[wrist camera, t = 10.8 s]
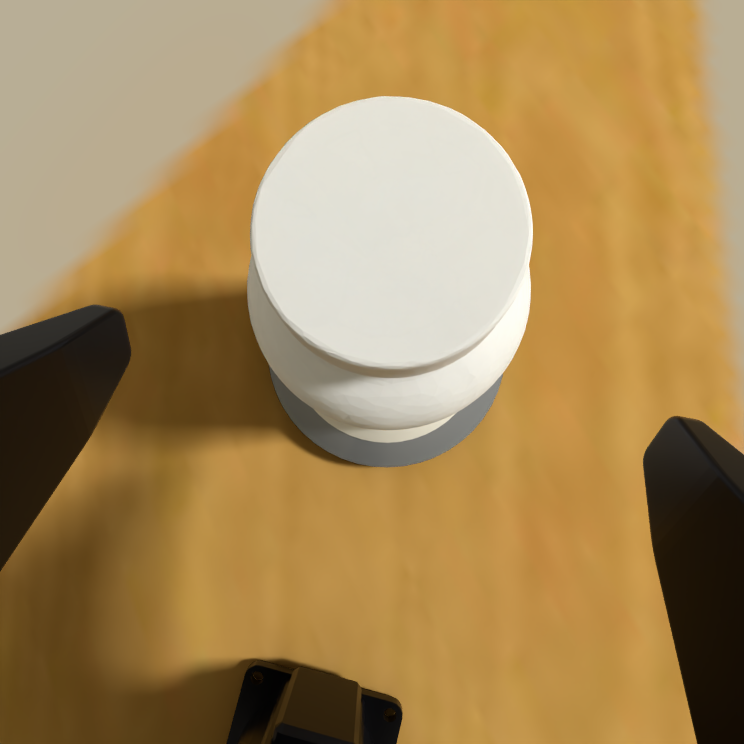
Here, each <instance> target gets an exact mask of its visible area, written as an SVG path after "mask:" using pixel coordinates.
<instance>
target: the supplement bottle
mask: <svg viewBox="0 0 744 744" xmlns="http://www.w3.org/2000/svg"><path fill="white" fill-rule="evenodd" d="M532 238H533V223H532V214H531V209H530V203H529V199H528V196H527V192H526V189H525V186H524V184H523V181H522V179H521V176H520V174H519V172H518V171H517V169H516V168H515V166H514V164H513V163H512V161H511V159H510V157H509V156H508V154H507V153H506V152H505V150H504V149H503V148H502V146H501V145H500V144H499V143H498V142H497V141H496V140H495V139H494V138H493V137H492V136H491V135H490V134H488V133H487V132H486V131H485V130H484V129H483V128H481V127H480V126H479V125H477V124H476V123H475V122H473V121H472V120H470V119H469V118H467V117H466V116H464V115H462V114H460V113H458V112H456V111H455V110H453V109H451V108H448V107H445V106H443V105H439V104H436V103H433V102H430V101H426V100H421V99H415V98H409V97H388V96H381V97H374V98H368V99H363V100H358V101H354V102H351V103H348V104H345V105H342V106H339V107H337V108H335V109H333V110H330V111H328V112H326V113H324V114H322V115H320V116H319V117H317V118H316V119H314V120H312V121H311V122H309V123H308V124H307V125H306V126H304V127H303V128H302V129H301V130H299V131H298V132H297V133H296V134H295V135H294V136H293V137H292V138H291V139H290V140H289V141H288V142H287V143H286V144H285V145H284V146H283V148H282V149H281V150H280V152H279V153H278V154H277V156H276V157H275V158H274V160H273V161H272V162H271V164H270V165H269V167H268V169H267V171H266V173H265V175H264V177H263V179H262V181H261V183H260V186H259V188H258V191H257V194H256V197H255V201H254V204H253V209H252V217H251V229H250V244H251V254H252V256H251V260H250V265H249V272H248V280H247V297H248V309H249V314H250V320H251V324H252V327H253V330H254V334H255V336H256V339H257V342H258V344H259V347H260V349H261V351H262V353H263V355H264V357H265V358H266V360H267V362H268V363H269V365H270V367H271V369H272V370H273V371H274V372H275V374H276V375H277V376H278V378H279V379H280V380H281V381H282V382H283V383H284V385H285V386H286V387H287V388H288V389H289V390H290V391H291V392H292V393H293V394H294V395H296V396H297V397H298V398H299V399H300V400H302V401H303V402H304V403H306V404H307V405H309V406H310V407H312V408H313V409H315V410H317V411H318V412H320V413H322V414H324V415H326V416H328V417H330V418H332V419H335V420H337V421H339V422H343V423H346V424H349V425H352V426H356V427H360V428H367V429H375V430H402V429H410V428H416V427H421V426H424V425H428V424H431V423H434V422H437V421H440V420H442V419H445V418H447V417H449V416H451V415H453V414H455V413H457V412H459V411H460V410H462V409H464V408H465V407H467V406H468V405H470V404H471V403H472V402H474V401H475V400H476V399H478V398H479V397H480V396H481V395H482V394H484V393H485V392H486V391H487V390H488V389H489V388H490V387H491V386H492V385H493V384H494V383H495V382H496V381H497V379H498V378H499V377H500V376H501V375H502V373H503V372H504V371H505V369H506V368H507V367H508V365H509V363H510V362H511V360H512V359H513V357H514V355H515V353H516V350H517V348H518V346H519V344H520V342H521V339H522V337H523V334H524V331H525V327H526V323H527V319H528V314H529V308H530V295H531V281H530V270H529V261H530V256H531V250H532Z"/></svg>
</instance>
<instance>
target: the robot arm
mask: <svg viewBox="0 0 744 744" xmlns="http://www.w3.org/2000/svg"><path fill="white" fill-rule="evenodd" d="M130 357H131V347H130V342H129V338H128V333H127V329H126V324H125V320H124V316H123V314H122V313H121V311H120V310H118V309H116V308H111V307H106V306H101V305H90V306H87V307H84V308H81V309H78V310H75V311H72V312H69V313H66V314H63V315H60V316H57V317H54V318H51V319H48V320H45V321H41V322H38V323H35V324H32V325H29V326H26V327H23V328H20V329H17V330H14V331H11V332H8V333H5V334H2V335H0V571H1V570H2V568H3V567H4V565H5V564H6V562H7V561H8V559H9V558H10V556H11V555H12V553H13V552H14V550H15V549H16V547H17V546H18V544H19V543H20V541H21V540H22V538H23V537H24V535H25V534H26V532H27V531H28V529H29V528H30V526H31V525H32V523H33V522H34V520H35V519H36V517H37V516H38V514H39V513H40V512H41V510H42V509H43V507H44V506H45V504H46V503H47V501H48V500H49V498H50V497H51V495H52V494H53V492H54V491H55V489H56V488H57V486H58V485H59V483H60V482H61V480H62V479H63V477H64V476H65V474H66V473H67V471H68V470H69V468H70V467H71V465H72V464H73V462H74V461H75V459H76V458H77V456H78V455H79V453H80V452H81V450H82V449H83V447H84V446H85V444H86V443H87V441H88V440H89V438H90V436H91V435H92V433H93V431H94V429H95V427H96V426H97V424H98V422H99V420H100V418H101V416H102V414H103V412H104V410H105V408H106V406H107V404H108V403H109V401H110V399H111V397H112V395H113V393H114V391H115V389H116V387H117V385H118V383H119V381H120V379H121V377H122V375H123V373H124V372H125V370H126V368H127V366H128V364H129V361H130ZM643 468H644V477H645V486H646V495H647V504H648V513H649V523H650V532H651V539H652V546H653V552H654V557H655V562H656V566H657V571H658V575H659V579H660V584H661V588H662V592H663V597H664V601H665V605H666V610H667V614H668V618H669V623H670V627H671V632H672V636H673V640H674V645H675V649H676V653H677V658H678V662H679V666H680V671H681V675H682V679H683V684H684V688H685V692H686V697H687V701H688V705H689V710H690V714H691V719H692V723H693V727H694V732H695V736H696V740H697V744H744V455H743V454H742V453H741V452H740V451H738V450H737V449H736V448H735V447H733V446H732V445H731V444H730V443H728V442H727V441H726V440H725V439H723V438H722V437H721V436H720V435H718V434H717V433H716V432H715V431H714V430H712V429H711V428H710V427H709V426H707V425H706V424H705V423H703V422H702V421H699V420H696V419H691V418H686V417H680V416H674V417H671V418H669V419H668V420H667V421H666V422H665V423H664V425H663V426H662V428H661V429H660V431H659V432H658V433H657V435H656V436H655V438H654V439H653V440H652V442H651V443H650V445H649V446H648V447H647V449H646V451H645V454H644V458H643ZM254 672H260V673H262V675H263V679H261V680H257V679H255V678H254V676H253V673H254ZM388 708H392V709H393V710H395V714H394V715H392V716H387V715H385V713H384V712H385V710H387V709H388ZM401 721H402V707H401V704H400V702H399V701H398V700H397V699H396V698H394V697H391V696H388V695H384V694H381V693H377V692H373V691H370V690H366V689H363V688H361V687H360V686H359V684H358V683H357V682H355V681H352V680H348V679H345V678H341V677H337V676H334V675H330V674H327V673H323V672H319V671H316V670H312V669H308V668H305V667H299V668H297V669H295V670H294V669H290V668H287V667H283V666H280V665H276V664H272V663H269V662H265V661H255V662H253V663H252V664H251V665H250V666H249V668H248V670H247V672H246V674H245V676H244V680H243V684H242V688H241V691H240V695H239V699H238V703H237V706H236V710H235V714H234V718H233V721H232V725H231V729H230V733H229V736H228V740H227V744H396V743H397V738H398V734H399V730H400V726H401Z"/></svg>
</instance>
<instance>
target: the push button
mask: <svg viewBox="0 0 744 744" xmlns="http://www.w3.org/2000/svg"><path fill="white" fill-rule="evenodd" d="M269 368H270V373H271V378H272V382H273V385H274V388H275V391H276V394H277V396H278V398H279V400H280V402H281V404H282V406H283V408H284V409H285V411H286V412H287V414H288V415H289V417H290V418H291V420H292V421H293V422H294V424H295V425H296V426H297V427H298V428H299V429H300V430H301V432H302V433H304V434H305V435H306V436H307V437H308V438H309V439H310V440H312V441H313V442H314V443H315V444H317V445H318V446H320V447H321V448H323V449H324V450H326V451H327V452H329V453H331V454H333V455H336V456H338V457H340V458H342V459H345V460H348V461H351V462H354V463H357V464H362V465H367V466H374V467H398V466H407V465H411V464H416V463H420V462H423V461H426V460H429V459H431V458H434V457H436V456H438V455H440V454H442V453H444V452H446V451H448V450H450V449H451V448H452V447H454V446H455V445H457V444H458V443H460V442H461V441H462V440H463V439H464V438H466V437H467V436H468V435H469V434H470V433H471V432H472V431H473V430H474V429H475V428H476V426H477V425H478V424H479V423H480V422H481V420H482V419H483V418H484V416H485V415H486V413H487V412H488V410H489V408H490V407H491V405H492V403H493V401H494V399H495V396H496V394H497V392H498V389H499V386H500V383H501V379H502V376H503V373H502V375H501V376H500V377H499V378H498V379H497V381H496V382H495V383H494V384H493V385H492V386H491V387H490V388H489V389H488V390H487V391H486V392H485V393H484V394H482V395H481V396H480V397H479V398H478V399H476V400H475V401H474V402H472V403H471V404H470V405H468V406H467V407H465V408H464V409H462V410H460V411H459V412H457V413H455V414H453V415H451V416H449V417H447V418H445V419H442V420H440V421H437V422H434V423H431V424H428V425H424V426H421V427H416V428H410V429H402V430H375V429H367V428H360V427H356V426H352V425H349V424H346V423H343V422H339V421H337V420H335V419H332V418H330V417H328V416H326V415H324V414H322V413H320V412H318V411H317V410H315V409H313V408H312V407H310V406H309V405H307V404H306V403H304V402H303V401H302V400H300V399H299V398H298V397H297V396H296V395H294V394H293V393H292V392H291V391H290V390H289V389H288V388H287V387H286V386H285V385H284V383H283V382H282V381H281V380H280V379H279V378H278V376H277V375H276V374H275V372H274V371H273V370H272V369H271V367H270V365H269Z"/></svg>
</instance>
